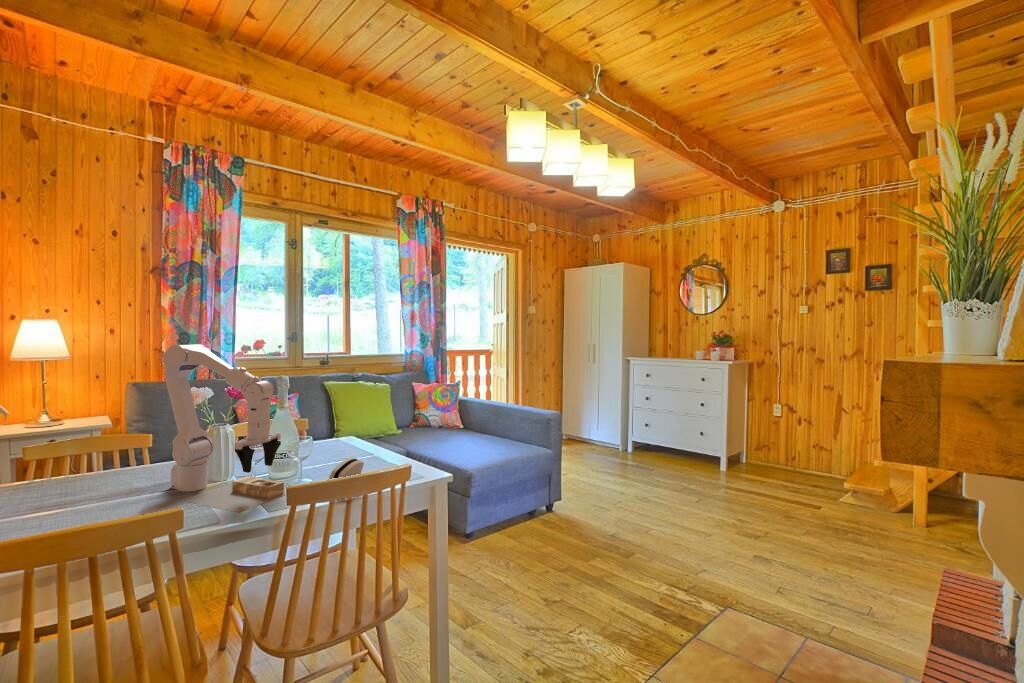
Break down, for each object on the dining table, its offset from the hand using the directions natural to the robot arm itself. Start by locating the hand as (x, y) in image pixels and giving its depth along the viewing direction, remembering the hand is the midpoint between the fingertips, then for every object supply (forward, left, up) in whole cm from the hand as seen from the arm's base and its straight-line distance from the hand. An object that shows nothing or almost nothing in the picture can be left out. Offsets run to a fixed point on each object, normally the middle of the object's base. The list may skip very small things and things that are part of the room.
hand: (257, 468), depth 145 cm
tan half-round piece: (+16, +18, -9) cm, 26 cm away
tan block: (0, 0, -7) cm, 7 cm away
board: (-2, -3, -8) cm, 9 cm away
